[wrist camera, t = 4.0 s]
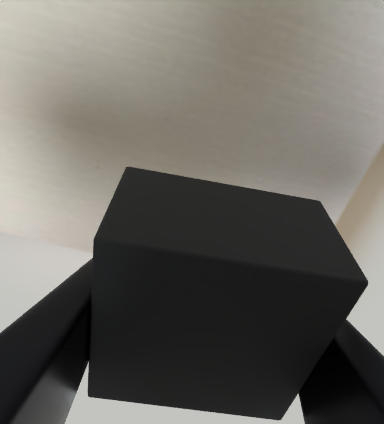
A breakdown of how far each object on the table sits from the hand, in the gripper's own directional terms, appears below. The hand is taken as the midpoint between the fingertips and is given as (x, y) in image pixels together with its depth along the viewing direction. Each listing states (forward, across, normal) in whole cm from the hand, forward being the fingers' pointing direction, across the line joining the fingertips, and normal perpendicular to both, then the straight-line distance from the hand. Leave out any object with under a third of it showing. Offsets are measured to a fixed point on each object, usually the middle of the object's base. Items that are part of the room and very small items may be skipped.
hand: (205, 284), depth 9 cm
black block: (+1, 0, 0) cm, 1 cm away
